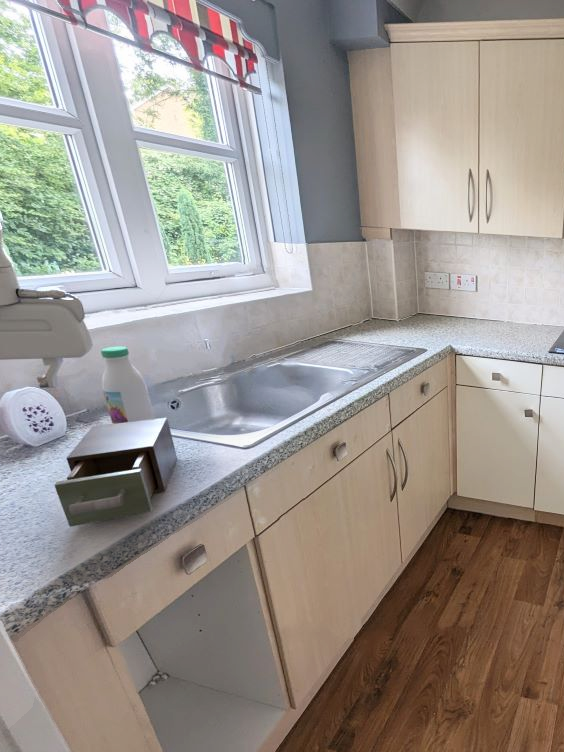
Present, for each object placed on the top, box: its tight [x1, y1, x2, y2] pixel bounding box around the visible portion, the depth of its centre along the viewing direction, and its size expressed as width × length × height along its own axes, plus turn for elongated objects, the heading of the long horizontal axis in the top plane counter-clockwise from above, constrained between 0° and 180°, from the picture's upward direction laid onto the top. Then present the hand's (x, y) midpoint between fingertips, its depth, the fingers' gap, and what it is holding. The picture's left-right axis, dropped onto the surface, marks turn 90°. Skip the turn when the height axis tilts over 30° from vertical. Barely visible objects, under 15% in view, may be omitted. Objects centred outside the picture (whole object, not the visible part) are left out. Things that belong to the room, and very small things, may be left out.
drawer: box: [54, 451, 157, 528], centre depth 78 cm, size 18×10×8 cm, turn 29°
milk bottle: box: [100, 346, 156, 424], centre depth 106 cm, size 8×8×20 cm
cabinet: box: [66, 417, 178, 495], centre depth 87 cm, size 15×12×10 cm
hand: (2, 389), depth 63 cm, fingers open, 8 cm apart
